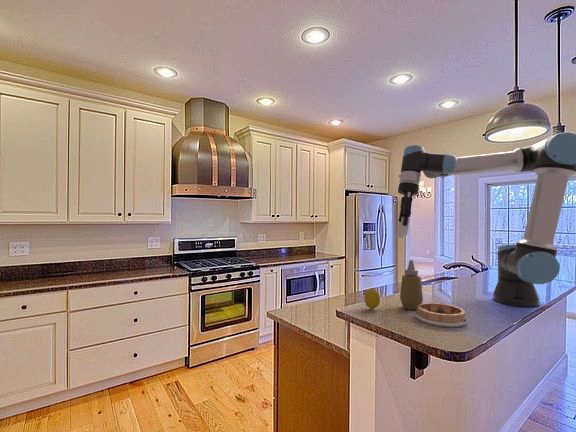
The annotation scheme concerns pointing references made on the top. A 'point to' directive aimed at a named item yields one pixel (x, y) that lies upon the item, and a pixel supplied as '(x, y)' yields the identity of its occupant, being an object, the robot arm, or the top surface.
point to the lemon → (372, 298)
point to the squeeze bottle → (411, 288)
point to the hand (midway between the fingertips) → (401, 236)
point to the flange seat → (441, 315)
